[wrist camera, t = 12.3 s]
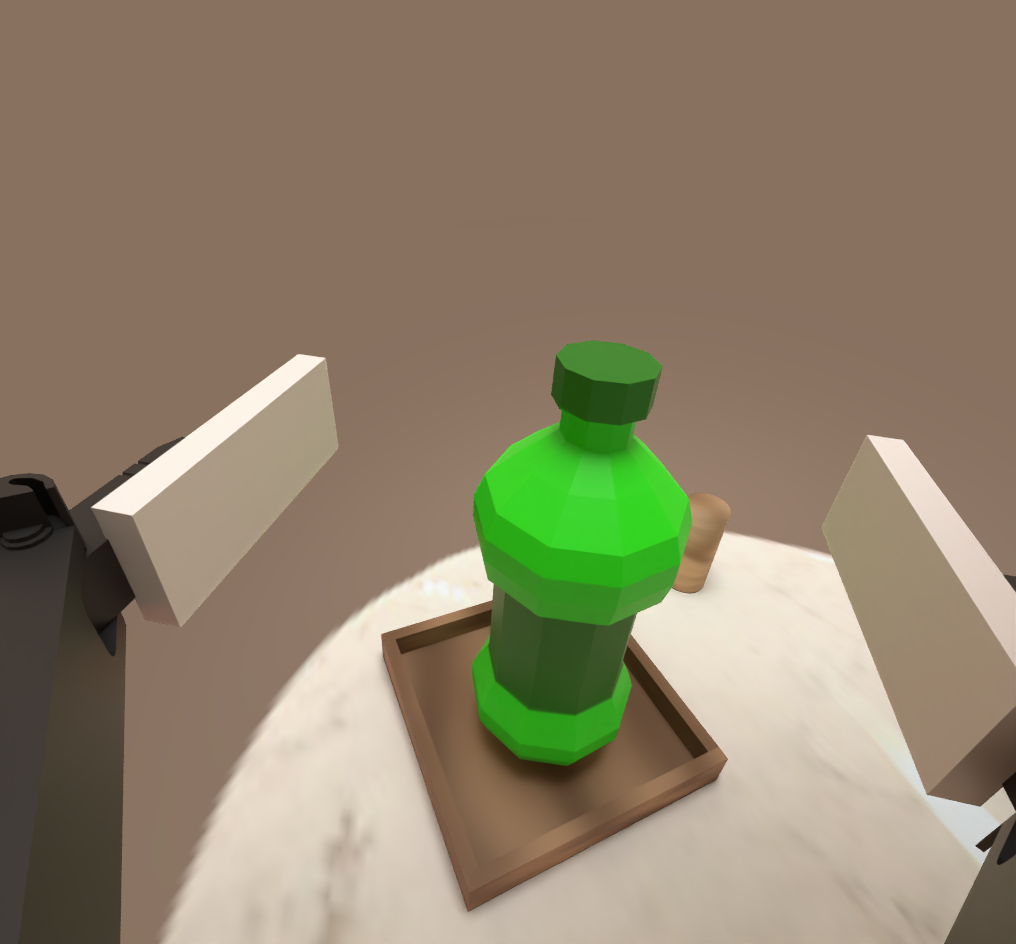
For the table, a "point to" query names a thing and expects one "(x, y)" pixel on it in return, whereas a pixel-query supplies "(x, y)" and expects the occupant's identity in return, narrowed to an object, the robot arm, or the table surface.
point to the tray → (530, 784)
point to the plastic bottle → (574, 557)
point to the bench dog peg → (701, 541)
